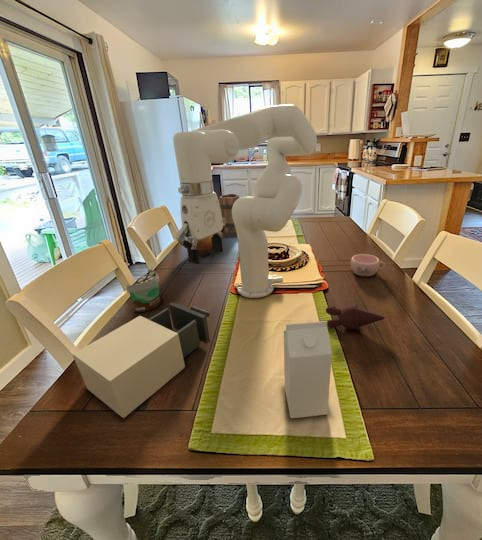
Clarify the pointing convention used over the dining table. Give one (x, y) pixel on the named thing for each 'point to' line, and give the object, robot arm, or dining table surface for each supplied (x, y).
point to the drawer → (185, 325)
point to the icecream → (351, 317)
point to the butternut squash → (204, 246)
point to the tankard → (228, 214)
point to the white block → (130, 363)
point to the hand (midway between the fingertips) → (206, 256)
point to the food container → (145, 292)
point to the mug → (365, 264)
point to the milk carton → (307, 368)
